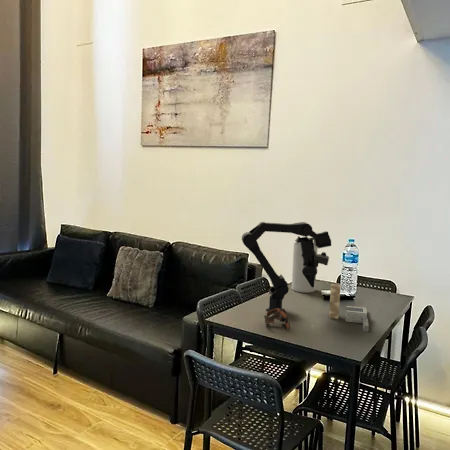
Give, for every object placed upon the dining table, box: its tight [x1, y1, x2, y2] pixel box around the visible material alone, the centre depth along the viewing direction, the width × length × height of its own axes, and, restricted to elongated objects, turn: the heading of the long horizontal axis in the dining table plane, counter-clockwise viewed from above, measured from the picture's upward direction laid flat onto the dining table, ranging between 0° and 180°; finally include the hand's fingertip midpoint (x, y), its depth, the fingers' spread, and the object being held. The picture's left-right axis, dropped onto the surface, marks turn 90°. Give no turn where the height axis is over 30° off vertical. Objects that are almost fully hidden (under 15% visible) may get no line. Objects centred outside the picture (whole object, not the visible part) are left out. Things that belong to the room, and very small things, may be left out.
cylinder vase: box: [291, 241, 319, 294], centre depth 234 cm, size 12×12×25 cm
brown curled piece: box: [263, 307, 291, 330], centre depth 178 cm, size 12×10×8 cm
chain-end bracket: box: [345, 305, 370, 333], centre depth 188 cm, size 9×28×4 cm, turn 165°
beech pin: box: [328, 283, 342, 320], centre depth 190 cm, size 4×4×14 cm
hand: (313, 284), depth 197 cm, fingers open, 9 cm apart
